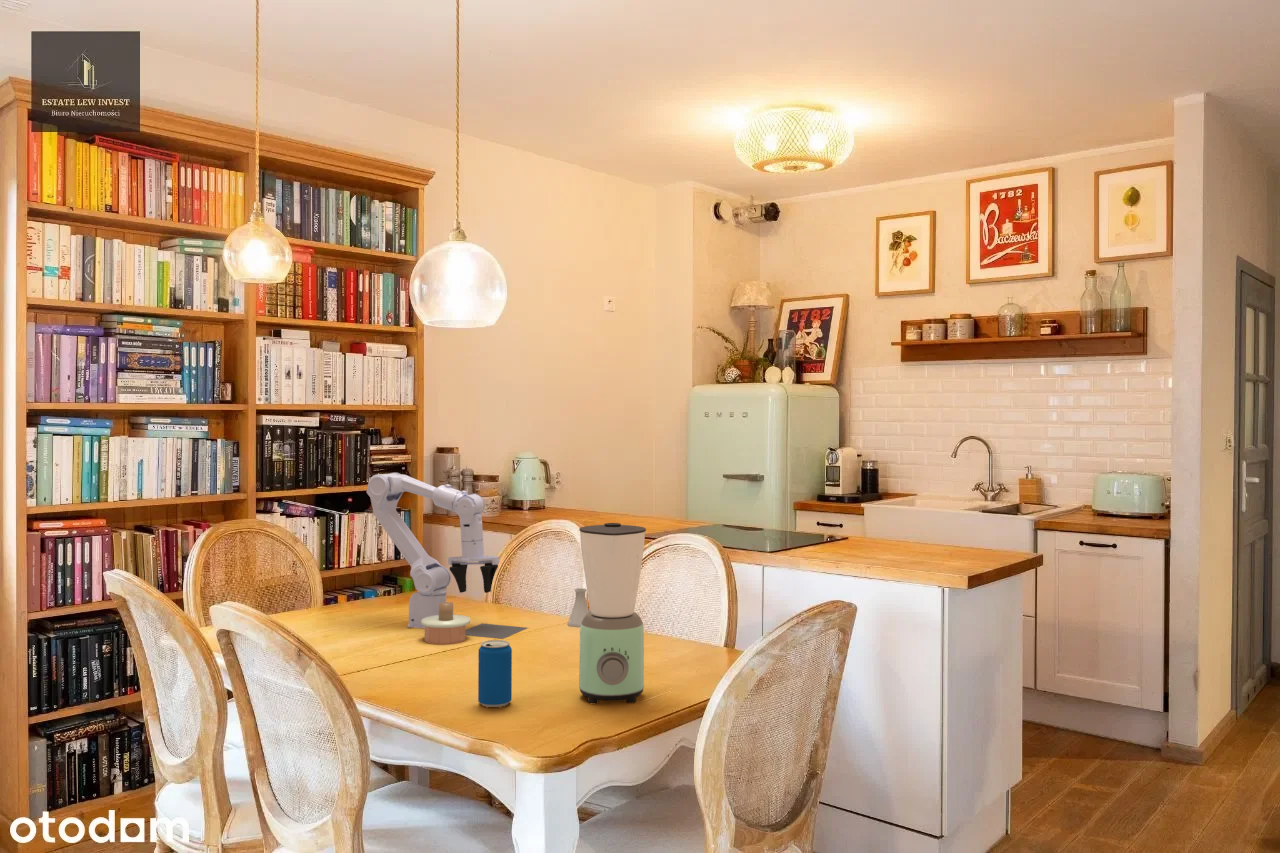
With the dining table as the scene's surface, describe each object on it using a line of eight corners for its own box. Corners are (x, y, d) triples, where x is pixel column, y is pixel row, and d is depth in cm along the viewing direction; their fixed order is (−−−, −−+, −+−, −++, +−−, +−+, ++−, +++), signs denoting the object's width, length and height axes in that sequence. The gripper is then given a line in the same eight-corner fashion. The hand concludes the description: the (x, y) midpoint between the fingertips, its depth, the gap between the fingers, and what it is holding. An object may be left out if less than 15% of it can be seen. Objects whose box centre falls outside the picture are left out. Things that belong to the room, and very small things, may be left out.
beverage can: (479, 699, 198) (479, 639, 198) (512, 699, 199) (512, 639, 199) (476, 709, 192) (477, 647, 192) (510, 708, 192) (511, 646, 192)
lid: (411, 625, 246) (411, 605, 246) (439, 616, 257) (439, 597, 257) (452, 629, 242) (452, 609, 241) (479, 620, 253) (479, 601, 252)
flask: (595, 623, 271) (595, 587, 271) (591, 629, 264) (591, 591, 264) (569, 622, 272) (569, 586, 271) (564, 628, 264) (565, 591, 264)
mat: (454, 635, 255) (454, 634, 255) (481, 624, 268) (481, 623, 268) (502, 640, 250) (502, 638, 250) (528, 629, 263) (528, 627, 263)
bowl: (416, 643, 246) (416, 625, 246) (438, 635, 255) (438, 617, 255) (451, 647, 243) (452, 628, 243) (472, 638, 252) (473, 620, 252)
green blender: (648, 708, 193) (649, 528, 193) (578, 709, 192) (580, 528, 192) (640, 682, 212) (641, 518, 212) (577, 683, 211) (578, 518, 211)
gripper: (440, 542, 261) (443, 594, 261) (487, 542, 255) (491, 594, 255) (455, 539, 268) (458, 589, 267) (502, 538, 262) (505, 590, 262)
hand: (475, 592), depth 262 cm, fingers open, 7 cm apart
